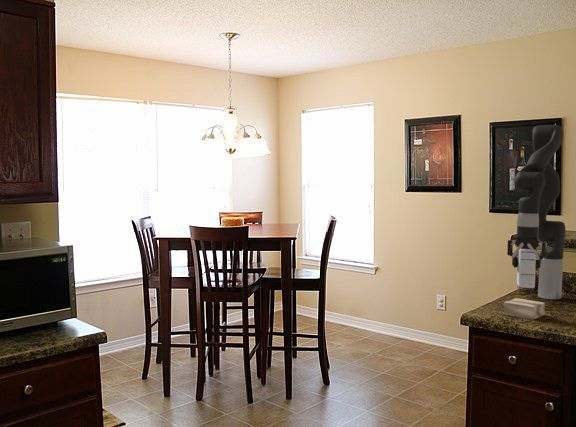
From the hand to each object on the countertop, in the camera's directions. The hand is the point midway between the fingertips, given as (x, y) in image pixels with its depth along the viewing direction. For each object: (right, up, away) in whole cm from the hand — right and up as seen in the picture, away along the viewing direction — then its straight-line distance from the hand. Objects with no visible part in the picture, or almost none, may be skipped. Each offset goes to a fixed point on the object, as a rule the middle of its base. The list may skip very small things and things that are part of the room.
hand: (526, 268), depth 220 cm
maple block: (0, -18, +1) cm, 18 cm away
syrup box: (0, -7, 0) cm, 7 cm away
